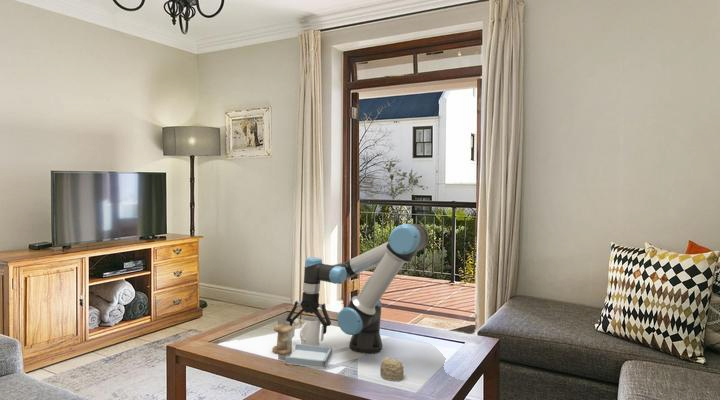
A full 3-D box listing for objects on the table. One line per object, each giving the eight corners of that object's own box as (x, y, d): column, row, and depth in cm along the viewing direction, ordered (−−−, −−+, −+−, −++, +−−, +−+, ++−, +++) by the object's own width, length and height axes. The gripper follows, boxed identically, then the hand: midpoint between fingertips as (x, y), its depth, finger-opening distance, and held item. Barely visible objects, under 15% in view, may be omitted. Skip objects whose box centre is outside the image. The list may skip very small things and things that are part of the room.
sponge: (385, 381, 179) (372, 360, 178) (405, 368, 179) (393, 347, 179) (388, 391, 169) (375, 369, 169) (410, 378, 170) (396, 355, 170)
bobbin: (293, 349, 197) (294, 325, 197) (288, 355, 189) (289, 330, 189) (275, 347, 198) (277, 323, 198) (269, 353, 190) (271, 328, 190)
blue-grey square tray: (331, 354, 193) (332, 347, 193) (324, 369, 176) (324, 361, 176) (295, 350, 195) (296, 343, 195) (284, 364, 178) (285, 357, 178)
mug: (305, 351, 195) (307, 323, 195) (291, 346, 200) (293, 319, 200) (323, 345, 204) (324, 319, 204) (309, 340, 209) (311, 315, 209)
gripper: (339, 293, 204) (335, 339, 205) (286, 287, 207) (282, 333, 207) (336, 296, 197) (332, 344, 197) (281, 290, 200) (278, 338, 200)
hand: (307, 338), depth 202 cm, fingers open, 13 cm apart
